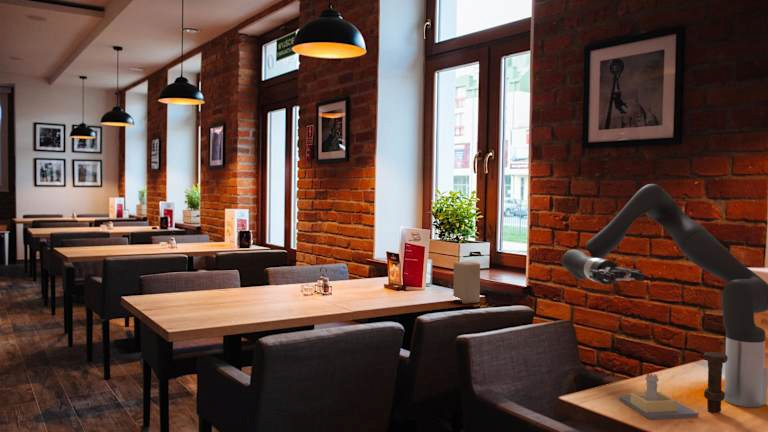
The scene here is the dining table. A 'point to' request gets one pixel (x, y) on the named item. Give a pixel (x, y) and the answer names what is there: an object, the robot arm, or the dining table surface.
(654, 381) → the rook chess piece
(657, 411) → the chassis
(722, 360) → the bolt
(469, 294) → the block
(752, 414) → the dining table surface
